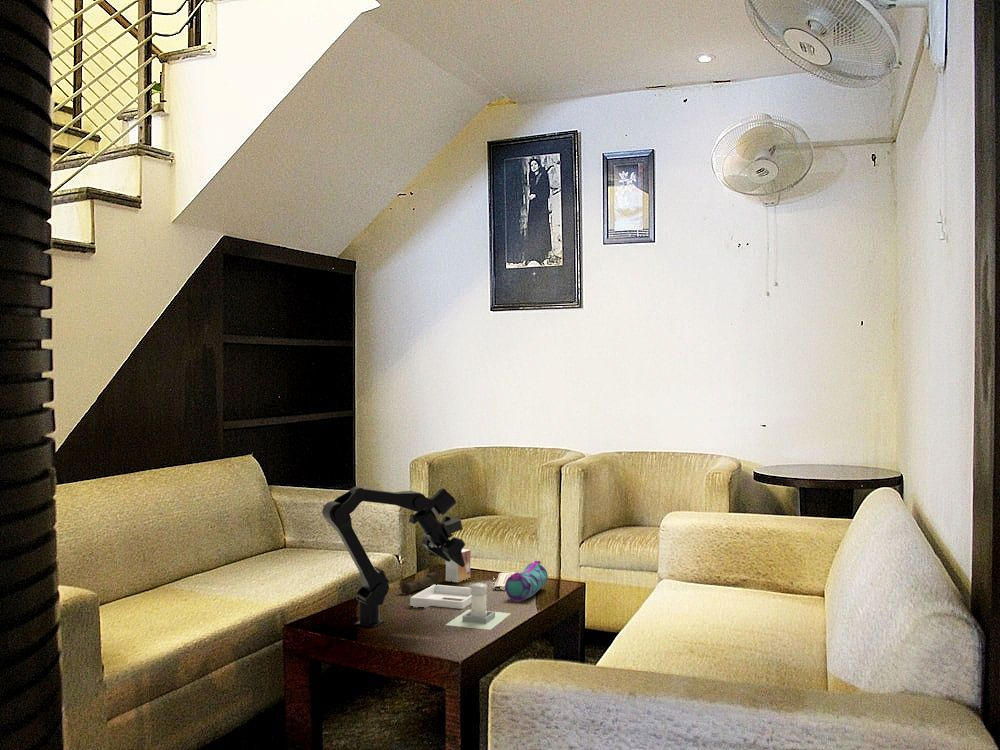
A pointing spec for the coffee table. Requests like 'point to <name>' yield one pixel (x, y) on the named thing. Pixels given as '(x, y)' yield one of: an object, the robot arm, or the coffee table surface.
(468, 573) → the small box
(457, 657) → the coffee table surface
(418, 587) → the hand tool
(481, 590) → the white light bulb
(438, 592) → the parts tray
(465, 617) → the green board with frame
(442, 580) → the coffee table surface
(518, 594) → the pencil case
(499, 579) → the newspaper
